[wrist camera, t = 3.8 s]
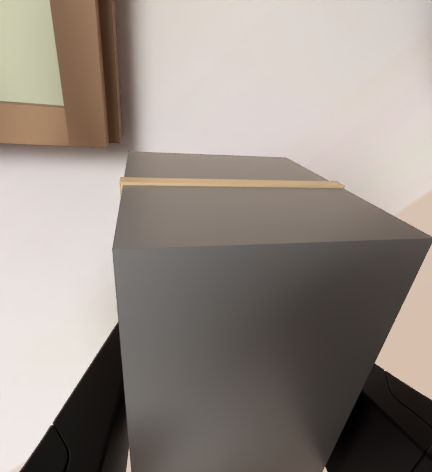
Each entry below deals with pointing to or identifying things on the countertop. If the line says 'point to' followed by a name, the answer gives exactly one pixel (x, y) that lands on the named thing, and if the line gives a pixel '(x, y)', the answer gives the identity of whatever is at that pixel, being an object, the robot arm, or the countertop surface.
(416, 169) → the countertop surface
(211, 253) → the glasses case
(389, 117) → the countertop surface
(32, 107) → the wooden picture frame
